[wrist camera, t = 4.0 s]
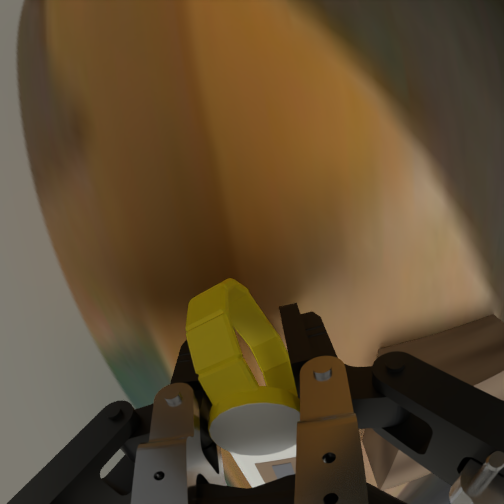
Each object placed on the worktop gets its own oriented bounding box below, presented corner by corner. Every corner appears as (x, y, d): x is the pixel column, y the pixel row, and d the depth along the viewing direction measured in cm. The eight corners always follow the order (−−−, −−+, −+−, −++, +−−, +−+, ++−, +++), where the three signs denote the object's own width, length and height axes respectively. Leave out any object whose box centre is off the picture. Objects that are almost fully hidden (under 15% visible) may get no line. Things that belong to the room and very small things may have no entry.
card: (229, 447, 17) (229, 451, 17) (318, 431, 17) (319, 436, 16) (256, 491, 19) (256, 495, 19) (326, 479, 19) (326, 482, 19)
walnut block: (377, 346, 15) (414, 409, 10) (491, 312, 15) (536, 351, 10) (361, 438, 18) (379, 491, 13) (459, 405, 17) (486, 445, 13)
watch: (184, 280, 12) (142, 379, 6) (242, 247, 12) (241, 336, 6) (257, 376, 14) (263, 481, 8) (309, 352, 13) (338, 456, 8)
